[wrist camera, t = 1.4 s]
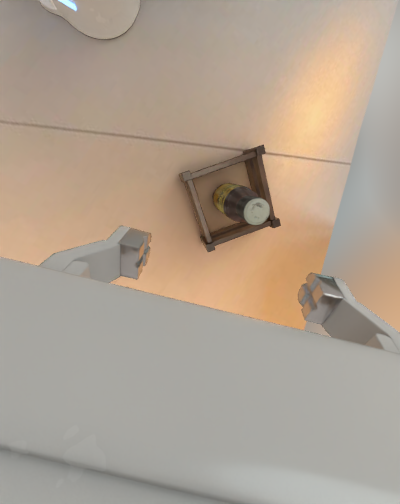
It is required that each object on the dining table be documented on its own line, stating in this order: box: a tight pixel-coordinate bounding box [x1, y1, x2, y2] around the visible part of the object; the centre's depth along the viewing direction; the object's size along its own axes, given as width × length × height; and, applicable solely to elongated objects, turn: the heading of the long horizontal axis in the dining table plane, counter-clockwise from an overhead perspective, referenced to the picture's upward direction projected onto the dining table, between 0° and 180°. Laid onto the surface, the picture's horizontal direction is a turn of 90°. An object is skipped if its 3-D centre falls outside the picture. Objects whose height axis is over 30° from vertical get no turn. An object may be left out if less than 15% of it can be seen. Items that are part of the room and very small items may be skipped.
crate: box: [179, 145, 281, 252], centre depth 48 cm, size 16×16×7 cm
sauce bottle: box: [213, 183, 270, 225], centre depth 42 cm, size 7×6×20 cm
